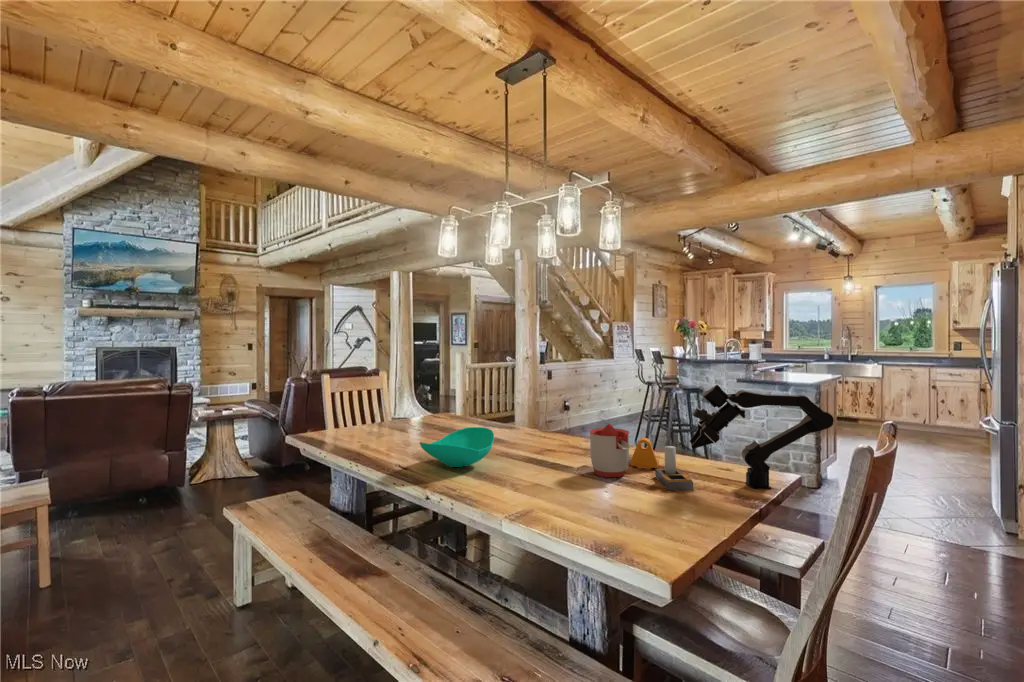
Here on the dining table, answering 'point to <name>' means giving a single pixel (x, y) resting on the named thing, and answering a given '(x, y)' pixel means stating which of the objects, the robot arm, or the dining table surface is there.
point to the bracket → (644, 455)
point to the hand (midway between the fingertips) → (691, 444)
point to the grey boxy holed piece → (674, 480)
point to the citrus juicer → (609, 451)
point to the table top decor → (461, 446)
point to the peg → (670, 460)
